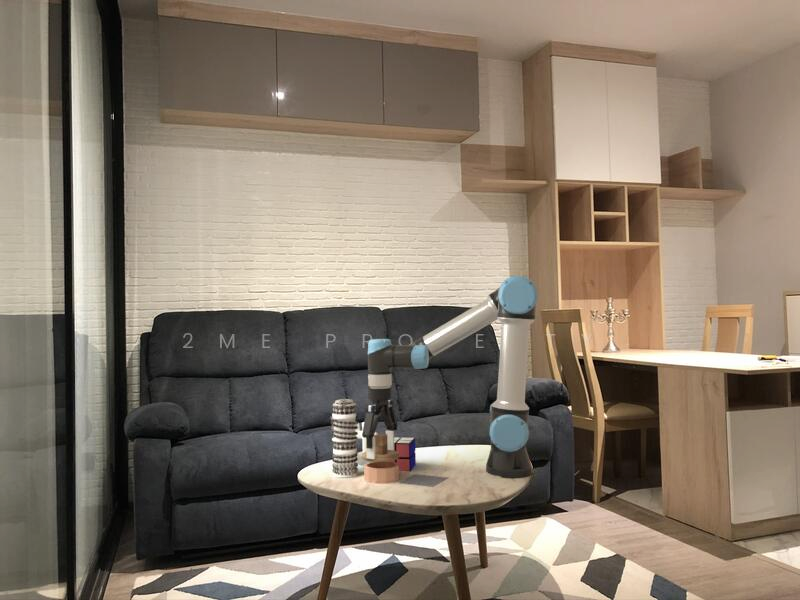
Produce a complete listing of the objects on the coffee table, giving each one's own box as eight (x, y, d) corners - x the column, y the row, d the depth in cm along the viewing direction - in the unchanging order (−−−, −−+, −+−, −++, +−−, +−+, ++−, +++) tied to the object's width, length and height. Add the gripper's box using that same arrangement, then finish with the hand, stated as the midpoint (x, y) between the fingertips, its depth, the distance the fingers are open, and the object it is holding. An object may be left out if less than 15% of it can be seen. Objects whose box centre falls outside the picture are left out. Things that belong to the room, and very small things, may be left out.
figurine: (372, 467, 232) (371, 424, 232) (350, 464, 236) (349, 422, 236) (383, 463, 238) (382, 421, 238) (361, 460, 242) (360, 419, 243)
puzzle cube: (410, 473, 223) (410, 443, 223) (381, 472, 225) (380, 442, 225) (415, 466, 233) (415, 437, 233) (387, 465, 235) (387, 437, 235)
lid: (406, 455, 216) (405, 433, 216) (388, 463, 206) (388, 439, 206) (373, 452, 222) (373, 430, 222) (355, 459, 211) (354, 436, 211)
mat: (448, 479, 214) (448, 477, 214) (432, 488, 203) (432, 486, 203) (414, 475, 219) (414, 474, 219) (398, 484, 209) (398, 482, 209)
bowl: (404, 478, 216) (404, 462, 216) (388, 486, 206) (388, 470, 206) (375, 474, 221) (374, 459, 221) (358, 482, 211) (357, 467, 211)
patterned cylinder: (332, 471, 227) (331, 398, 227) (359, 470, 227) (358, 397, 227) (330, 478, 218) (328, 401, 218) (358, 477, 218) (357, 401, 218)
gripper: (387, 382, 227) (388, 446, 226) (350, 390, 205) (351, 461, 205) (407, 383, 223) (408, 448, 223) (371, 392, 202) (372, 463, 201)
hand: (380, 454), depth 214 cm, fingers closed on lid, 12 cm apart
